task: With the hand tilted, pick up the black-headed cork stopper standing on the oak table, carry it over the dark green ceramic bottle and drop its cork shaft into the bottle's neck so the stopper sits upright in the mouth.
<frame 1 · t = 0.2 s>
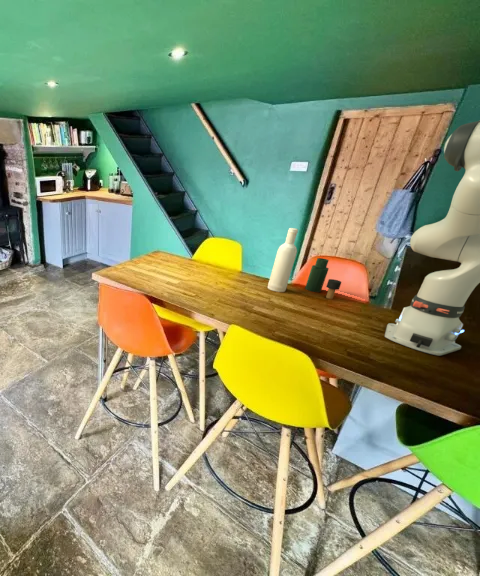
stopper: (329, 297, 141), on the worktop
bottle: (312, 290, 151), on the worktop
bottle 2: (276, 289, 148), on the worktop
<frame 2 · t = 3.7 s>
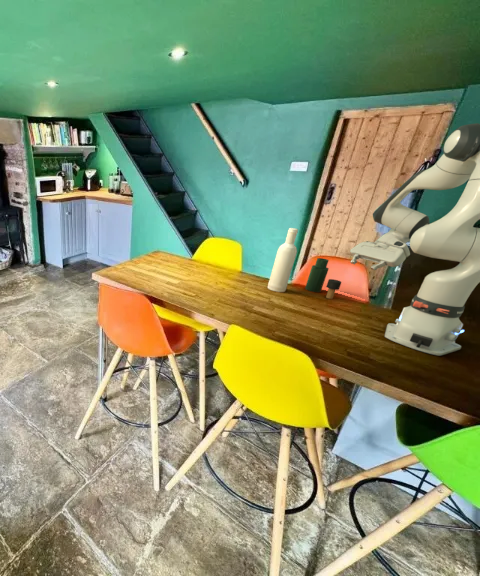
hand: (362, 265, 138), 16 cm above the worktop, tool tilted 45°, fingers open, 8 cm apart
nothing on the worktop moved.
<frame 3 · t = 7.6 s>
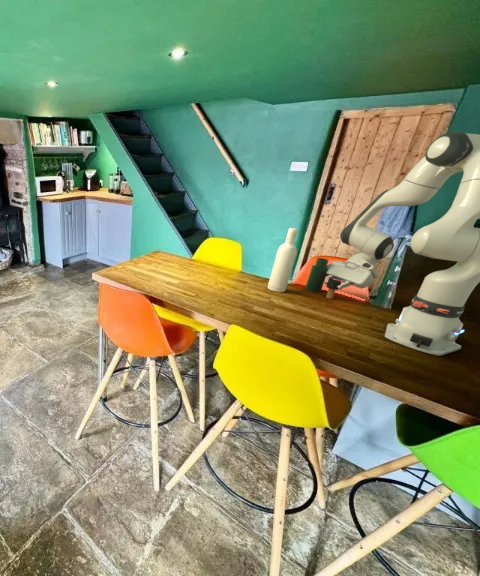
hand: (332, 286, 139), 6 cm above the worktop, tool tilted 45°, fingers closed on stopper, 5 cm apart
stopper: (329, 297, 141), on the worktop, touching gripper
everything else where it was.
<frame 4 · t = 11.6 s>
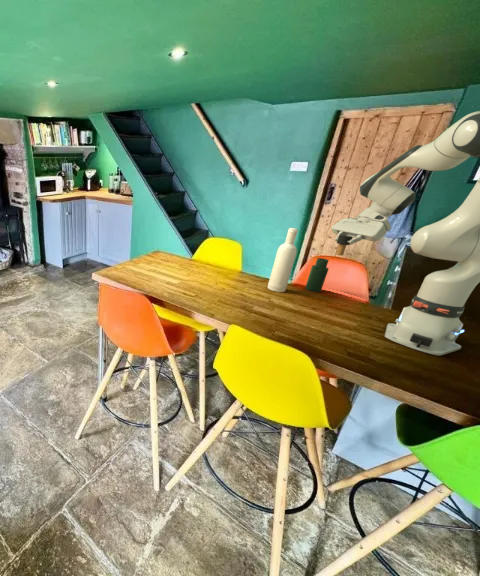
hand: (342, 241, 134), 26 cm above the worktop, tool tilted 45°, fingers closed on stopper, 5 cm apart
stopper: (339, 254, 137), point 20 cm above the worktop, touching gripper
everything else where it was.
when the fingers open (17 cm above the worktop, at t = 16.0 s): stopper stays where it is, resting on bottle.
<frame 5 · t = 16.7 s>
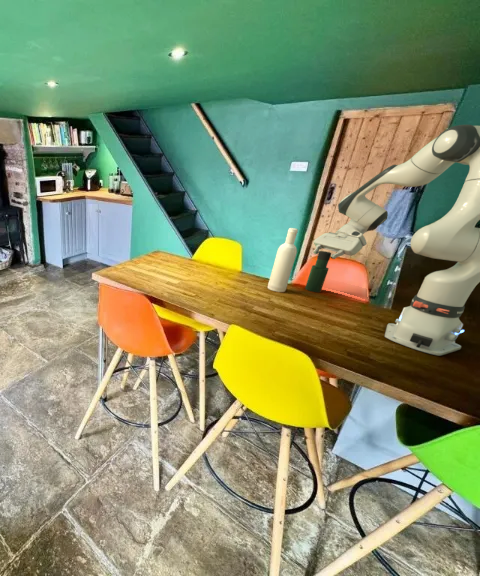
hand: (323, 255, 144), 18 cm above the worktop, tool tilted 45°, fingers open, 8 cm apart
stopper: (319, 269, 147), point 11 cm above the worktop, touching bottle
everything else where it was.
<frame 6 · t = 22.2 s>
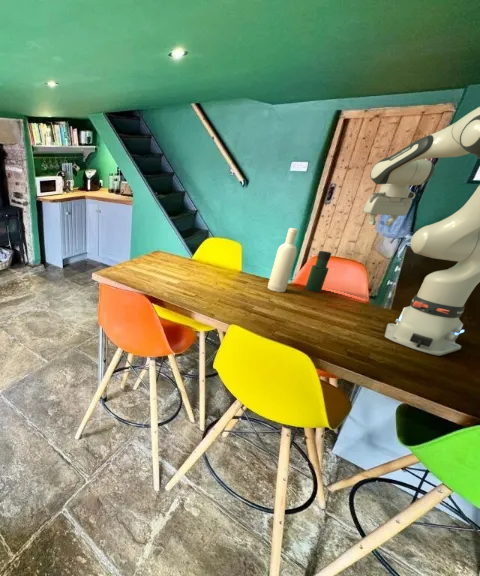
hand: (380, 225, 135), 34 cm above the worktop, tool pointing down, fingers open, 8 cm apart
nothing on the worktop moved.
at the end: stopper 0.1 cm off-centre in the bottle, point 11.0 cm above the bottle's base; stopper tilted 0°; the gripper is holding nothing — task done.
